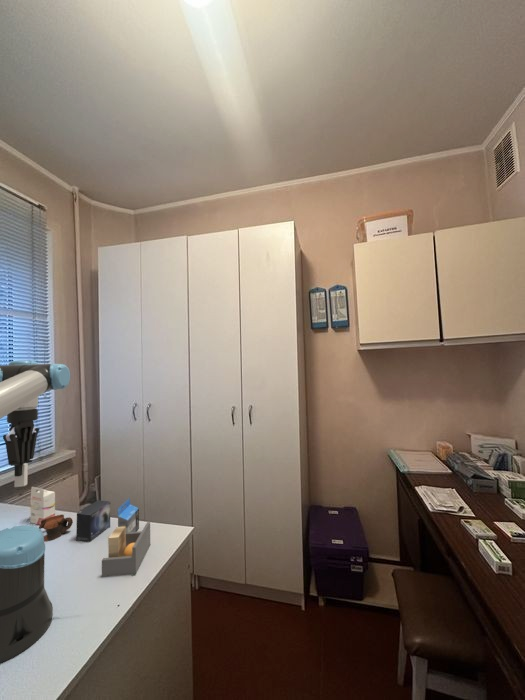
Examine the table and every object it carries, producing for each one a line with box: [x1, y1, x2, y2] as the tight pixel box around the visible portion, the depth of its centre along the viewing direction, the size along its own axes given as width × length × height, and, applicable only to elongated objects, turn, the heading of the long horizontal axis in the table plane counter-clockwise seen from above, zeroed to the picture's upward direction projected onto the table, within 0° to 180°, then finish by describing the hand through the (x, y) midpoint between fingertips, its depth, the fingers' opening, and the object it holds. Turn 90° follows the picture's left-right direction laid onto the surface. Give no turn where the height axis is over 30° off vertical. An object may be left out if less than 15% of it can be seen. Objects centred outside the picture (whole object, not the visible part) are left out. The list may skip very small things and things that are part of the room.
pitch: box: [101, 521, 151, 578], centre depth 93 cm, size 15×24×8 cm, turn 95°
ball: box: [124, 543, 135, 556], centre depth 93 cm, size 5×5×5 cm
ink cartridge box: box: [30, 486, 56, 526], centre depth 120 cm, size 9×5×15 cm, turn 70°
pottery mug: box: [38, 514, 74, 543], centre depth 110 cm, size 12×10×8 cm
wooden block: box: [107, 526, 126, 558], centre depth 93 cm, size 6×3×9 cm, turn 5°
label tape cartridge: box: [117, 497, 140, 532], centre depth 107 cm, size 9×4×12 cm, turn 178°
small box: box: [75, 499, 111, 543], centre depth 109 cm, size 11×6×10 cm, turn 168°
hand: (20, 485), depth 89 cm, fingers closed
